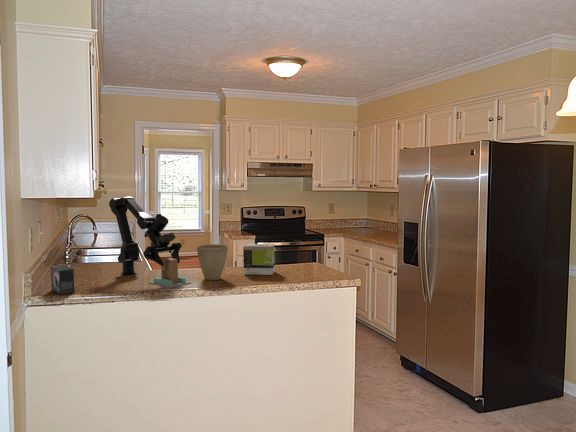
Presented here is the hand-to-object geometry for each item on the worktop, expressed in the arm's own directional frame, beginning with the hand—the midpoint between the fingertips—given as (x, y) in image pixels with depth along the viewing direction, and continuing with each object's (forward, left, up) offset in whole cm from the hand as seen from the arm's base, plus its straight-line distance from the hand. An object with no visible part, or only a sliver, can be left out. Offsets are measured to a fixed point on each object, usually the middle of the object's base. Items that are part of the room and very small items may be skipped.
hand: (171, 264), depth 225 cm
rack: (-1, -1, -9) cm, 9 cm away
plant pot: (-1, +20, -9) cm, 22 cm away
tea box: (-3, +46, -9) cm, 47 cm away
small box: (-5, -46, -9) cm, 47 cm away
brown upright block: (-1, 0, -9) cm, 9 cm away
